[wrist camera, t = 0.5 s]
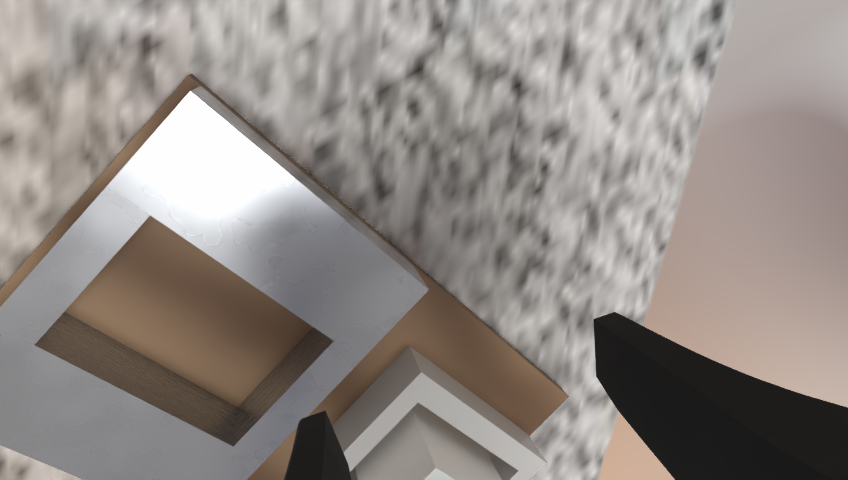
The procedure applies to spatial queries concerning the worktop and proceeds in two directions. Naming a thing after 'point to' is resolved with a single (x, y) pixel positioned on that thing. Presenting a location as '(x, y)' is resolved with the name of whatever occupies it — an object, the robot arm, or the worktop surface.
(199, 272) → the panel board
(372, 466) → the plug
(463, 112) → the worktop surface
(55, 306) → the port
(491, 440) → the grey rectangular frame
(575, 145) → the worktop surface
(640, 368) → the robot arm
